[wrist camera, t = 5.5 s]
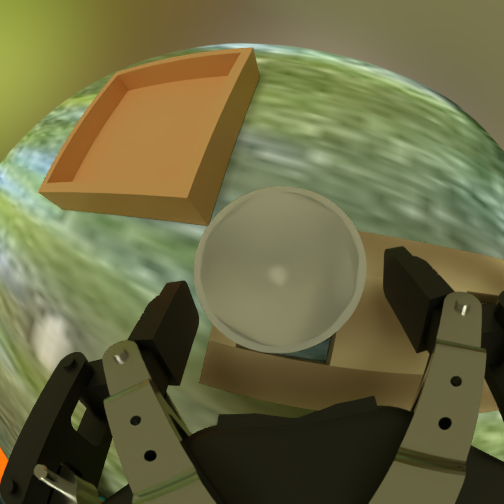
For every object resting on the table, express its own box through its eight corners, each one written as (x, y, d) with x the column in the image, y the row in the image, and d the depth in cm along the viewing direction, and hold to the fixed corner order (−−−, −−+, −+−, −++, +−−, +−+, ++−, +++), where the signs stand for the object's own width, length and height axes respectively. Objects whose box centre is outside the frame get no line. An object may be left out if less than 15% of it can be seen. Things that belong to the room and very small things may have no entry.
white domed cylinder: (318, 352, 15) (351, 367, 5) (255, 340, 16) (175, 329, 6) (330, 290, 16) (371, 198, 6) (269, 279, 17) (218, 180, 7)
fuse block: (494, 403, 11) (513, 407, 8) (213, 378, 16) (199, 382, 13) (507, 274, 14) (525, 265, 11) (248, 231, 18) (240, 214, 16)
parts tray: (208, 225, 19) (187, 197, 15) (62, 209, 23) (38, 192, 20) (259, 77, 24) (253, 47, 21) (129, 92, 29) (116, 72, 25)
